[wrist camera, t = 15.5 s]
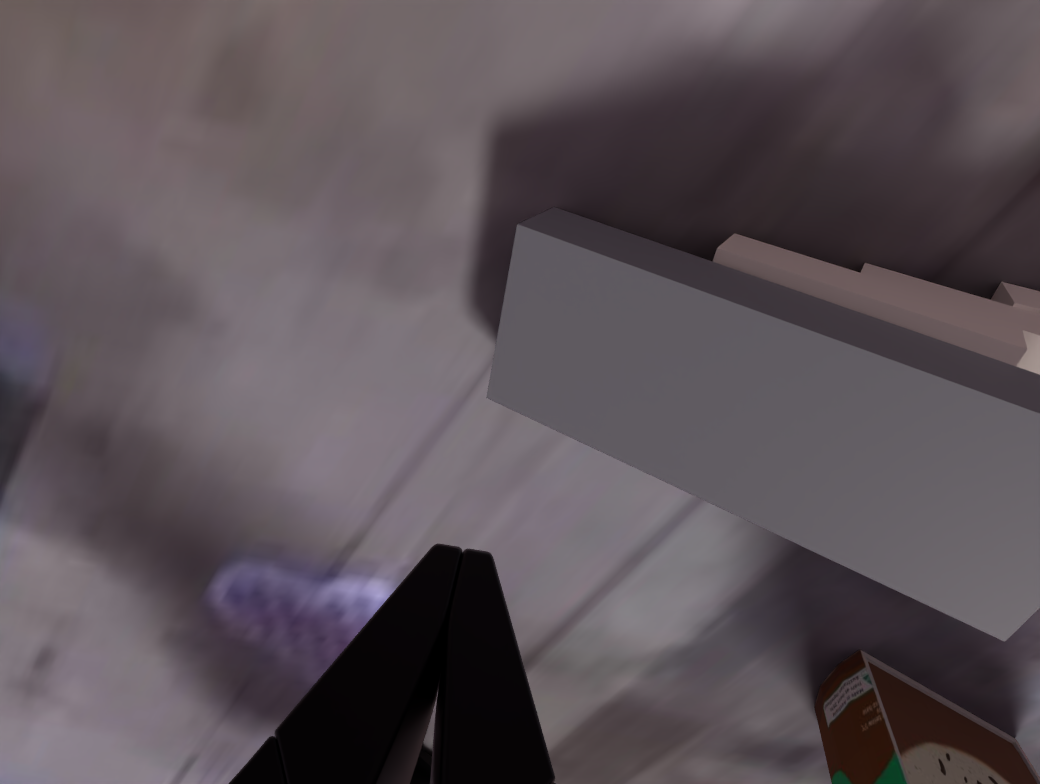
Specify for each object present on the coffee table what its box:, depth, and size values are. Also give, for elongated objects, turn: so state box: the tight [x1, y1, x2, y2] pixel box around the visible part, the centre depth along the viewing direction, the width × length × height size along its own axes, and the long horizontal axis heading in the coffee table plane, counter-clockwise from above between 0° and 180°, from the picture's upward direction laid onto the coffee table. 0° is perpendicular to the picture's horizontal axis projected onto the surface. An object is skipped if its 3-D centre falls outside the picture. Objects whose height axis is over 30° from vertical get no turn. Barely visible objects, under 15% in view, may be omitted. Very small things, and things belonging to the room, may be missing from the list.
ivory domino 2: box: [860, 263, 1040, 375], centre depth 16 cm, size 2×5×6 cm
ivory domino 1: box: [713, 233, 1027, 366], centre depth 16 cm, size 2×5×6 cm
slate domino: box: [486, 207, 1040, 642], centre depth 15 cm, size 2×5×13 cm
